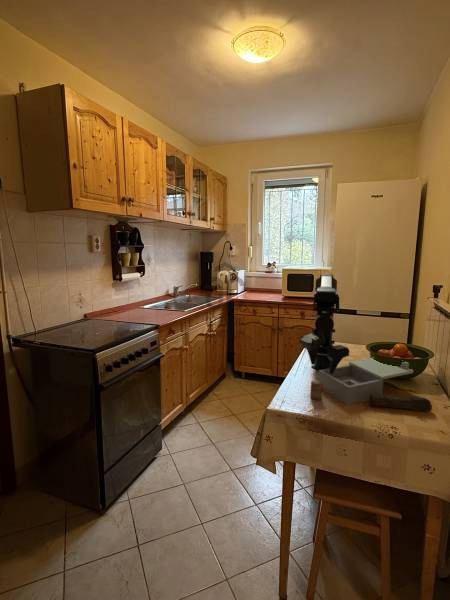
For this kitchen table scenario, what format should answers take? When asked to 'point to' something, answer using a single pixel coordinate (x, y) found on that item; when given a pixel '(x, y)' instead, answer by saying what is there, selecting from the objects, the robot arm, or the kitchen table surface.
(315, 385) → the peg
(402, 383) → the kitchen table surface
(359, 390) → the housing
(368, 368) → the lid
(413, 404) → the dark brown rough bar
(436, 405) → the kitchen table surface
